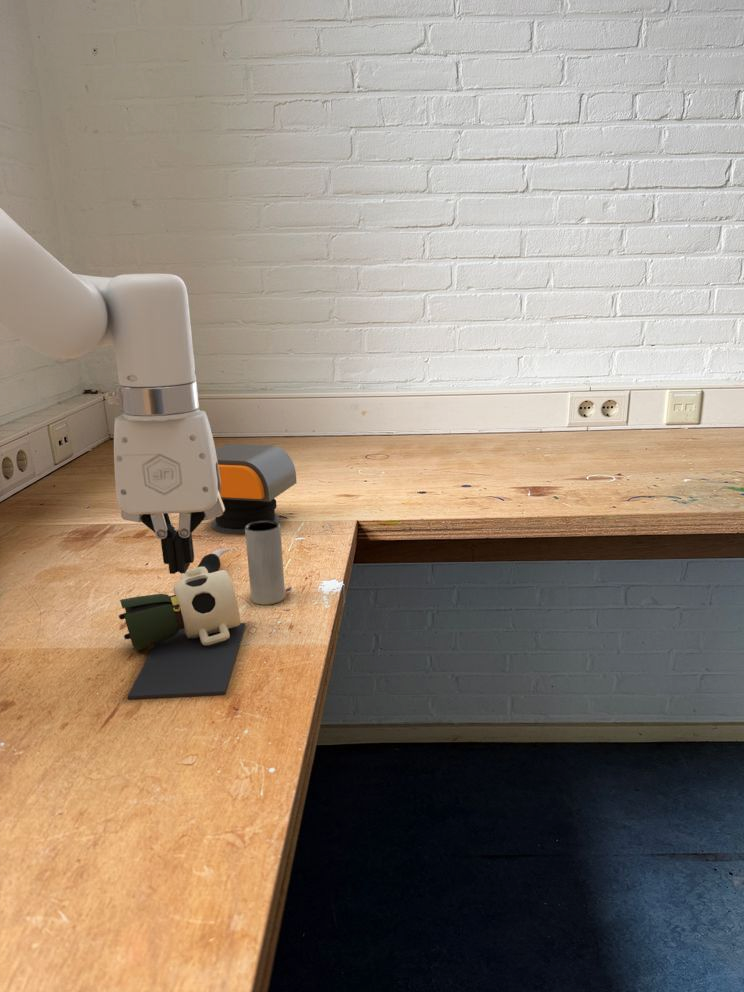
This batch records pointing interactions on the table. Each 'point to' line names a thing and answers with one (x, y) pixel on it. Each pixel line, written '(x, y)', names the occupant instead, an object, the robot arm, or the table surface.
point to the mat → (188, 667)
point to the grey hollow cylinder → (265, 562)
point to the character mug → (184, 610)
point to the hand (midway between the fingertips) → (180, 568)
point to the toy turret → (251, 484)
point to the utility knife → (212, 560)
